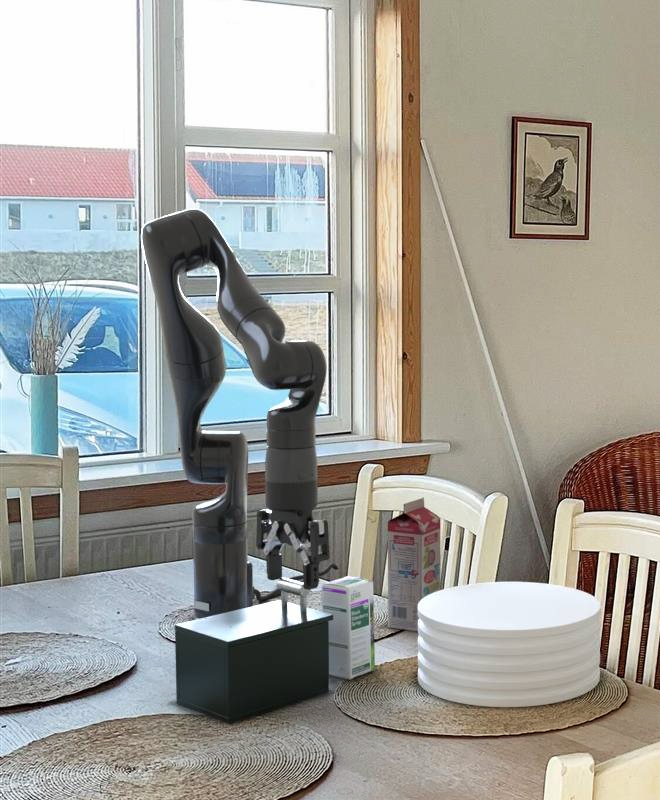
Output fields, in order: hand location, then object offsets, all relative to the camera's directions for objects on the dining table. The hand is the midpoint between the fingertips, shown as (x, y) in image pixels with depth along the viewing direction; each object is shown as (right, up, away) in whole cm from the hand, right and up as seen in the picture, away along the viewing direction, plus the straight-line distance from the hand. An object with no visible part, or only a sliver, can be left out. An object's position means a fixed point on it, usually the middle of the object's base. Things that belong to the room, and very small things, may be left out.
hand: (292, 583), depth 201 cm
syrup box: (+7, -15, +9) cm, 19 cm away
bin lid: (-4, -5, -5) cm, 8 cm away
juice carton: (+13, -12, +35) cm, 40 cm away
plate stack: (+32, -16, +8) cm, 36 cm away
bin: (-5, -16, -4) cm, 17 cm away
